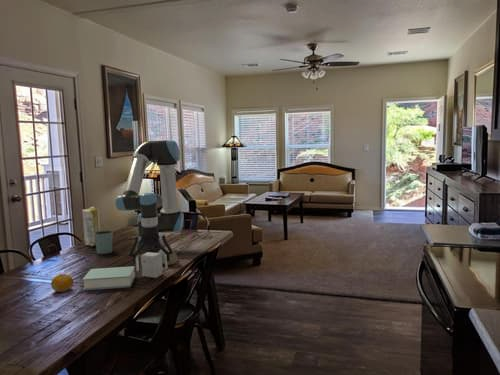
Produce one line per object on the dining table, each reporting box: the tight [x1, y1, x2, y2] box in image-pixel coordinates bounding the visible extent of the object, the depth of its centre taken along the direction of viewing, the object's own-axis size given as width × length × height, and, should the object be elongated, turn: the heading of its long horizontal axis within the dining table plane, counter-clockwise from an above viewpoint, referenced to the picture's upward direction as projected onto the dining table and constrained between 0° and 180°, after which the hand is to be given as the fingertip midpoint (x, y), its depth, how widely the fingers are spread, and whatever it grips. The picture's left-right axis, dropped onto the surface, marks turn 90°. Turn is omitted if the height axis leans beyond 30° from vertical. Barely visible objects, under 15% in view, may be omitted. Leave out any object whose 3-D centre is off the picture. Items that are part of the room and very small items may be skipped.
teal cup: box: [94, 230, 114, 255], centre depth 228 cm, size 10×10×12 cm
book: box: [82, 265, 136, 291], centre depth 177 cm, size 14×20×5 cm
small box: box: [140, 252, 164, 278], centre depth 185 cm, size 8×6×10 cm
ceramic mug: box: [157, 249, 178, 266], centre depth 204 cm, size 11×8×8 cm
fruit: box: [50, 273, 74, 293], centre depth 169 cm, size 8×8×8 cm
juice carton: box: [82, 206, 101, 247], centre depth 246 cm, size 9×8×24 cm
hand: (152, 269), depth 186 cm, fingers open, 13 cm apart
